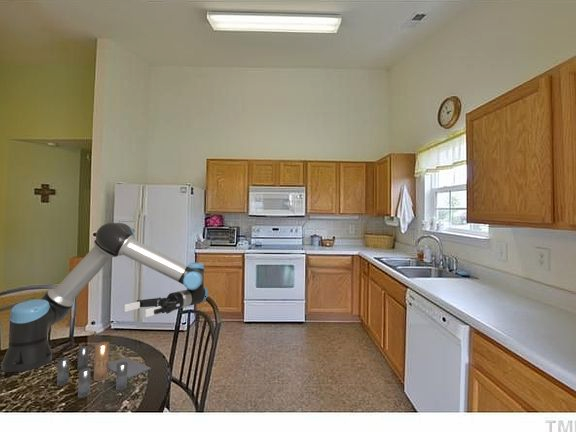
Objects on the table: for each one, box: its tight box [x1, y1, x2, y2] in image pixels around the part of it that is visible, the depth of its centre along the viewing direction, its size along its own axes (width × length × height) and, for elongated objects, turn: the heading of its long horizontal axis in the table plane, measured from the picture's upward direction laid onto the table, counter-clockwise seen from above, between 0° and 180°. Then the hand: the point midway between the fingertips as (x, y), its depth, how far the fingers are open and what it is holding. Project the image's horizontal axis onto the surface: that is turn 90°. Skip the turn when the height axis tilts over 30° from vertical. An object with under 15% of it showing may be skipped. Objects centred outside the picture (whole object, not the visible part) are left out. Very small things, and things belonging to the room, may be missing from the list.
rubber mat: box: [108, 357, 152, 380], centre depth 119 cm, size 17×9×1 cm, turn 59°
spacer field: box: [56, 345, 128, 399], centre depth 107 cm, size 28×12×8 cm, turn 59°
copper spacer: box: [93, 341, 110, 382], centre depth 111 cm, size 4×4×12 cm
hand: (134, 310), depth 121 cm, fingers open, 13 cm apart
